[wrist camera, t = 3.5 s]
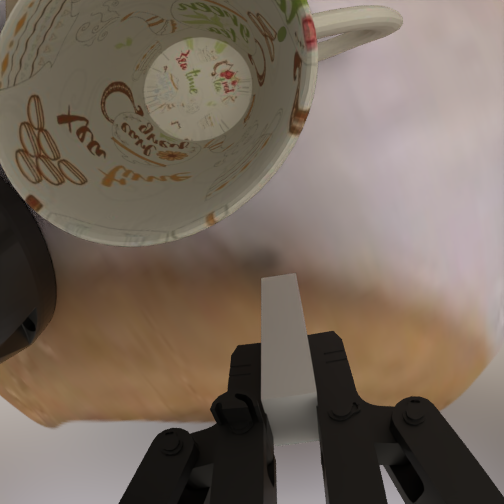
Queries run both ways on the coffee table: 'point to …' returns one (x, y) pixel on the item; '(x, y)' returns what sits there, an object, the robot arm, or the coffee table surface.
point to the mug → (160, 106)
